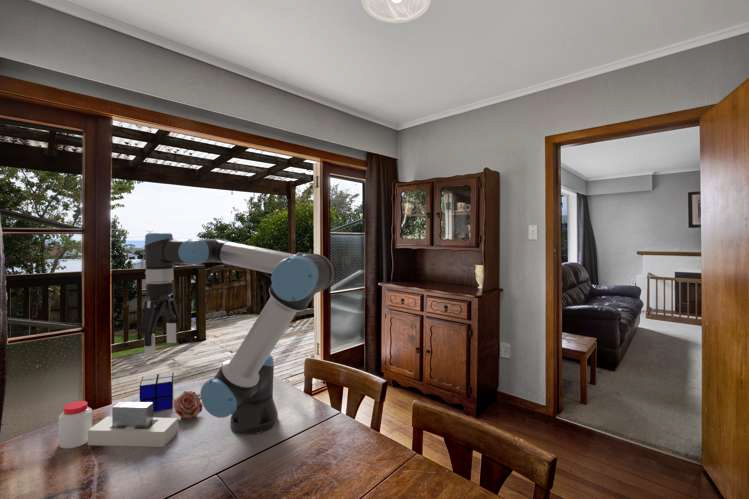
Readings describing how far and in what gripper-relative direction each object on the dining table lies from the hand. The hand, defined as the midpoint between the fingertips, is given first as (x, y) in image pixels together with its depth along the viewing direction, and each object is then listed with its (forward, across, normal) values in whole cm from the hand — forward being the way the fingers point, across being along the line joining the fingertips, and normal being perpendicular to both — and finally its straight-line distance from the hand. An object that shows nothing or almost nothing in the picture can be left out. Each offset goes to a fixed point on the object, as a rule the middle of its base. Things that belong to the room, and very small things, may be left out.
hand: (161, 349), depth 116 cm
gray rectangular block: (+26, +4, -7) cm, 27 cm away
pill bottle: (+26, +6, -22) cm, 34 cm away
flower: (+26, -8, +4) cm, 28 cm away
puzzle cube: (+26, -17, -10) cm, 32 cm away
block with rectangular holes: (+26, +4, -6) cm, 27 cm away
